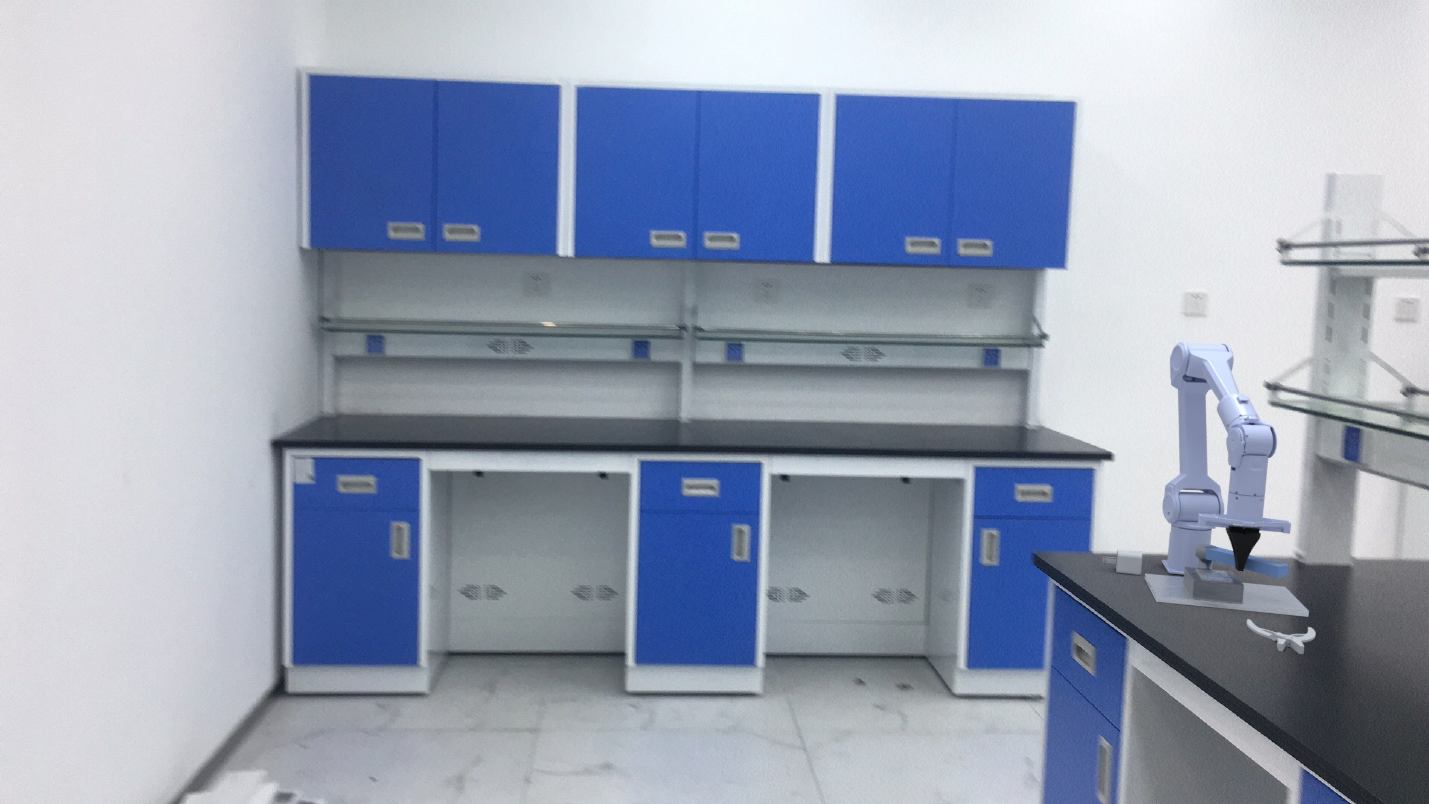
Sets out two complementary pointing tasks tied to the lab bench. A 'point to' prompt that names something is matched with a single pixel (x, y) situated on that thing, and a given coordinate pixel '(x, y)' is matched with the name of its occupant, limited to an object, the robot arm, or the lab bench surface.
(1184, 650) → the lab bench surface
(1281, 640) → the pliers
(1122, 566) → the usb wall charger
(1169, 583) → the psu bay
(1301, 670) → the lab bench surface
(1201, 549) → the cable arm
